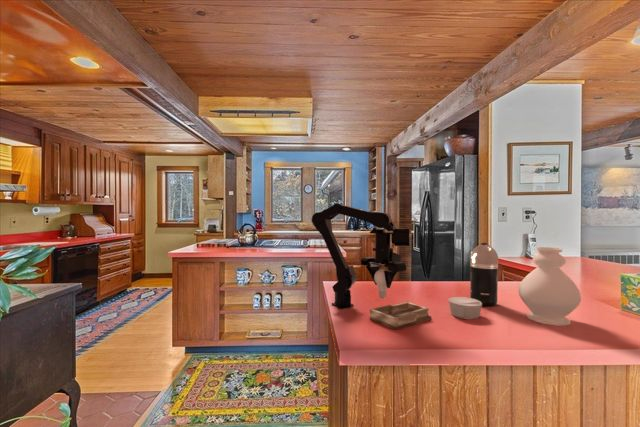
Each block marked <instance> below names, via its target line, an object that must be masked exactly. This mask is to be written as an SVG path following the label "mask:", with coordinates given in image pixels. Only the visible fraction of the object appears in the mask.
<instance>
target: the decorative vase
mask: <svg viewBox="0 0 640 427" xmlns="http://www.w3.org/2000/svg"><path fill="white" fill-rule="evenodd" d="M535 251H537V252H538V253H537V252H536V254H534V255H533V257H532V261H533V263H534V264H535V265H536V266H537V267H536V268H534V269H533V270H532V271H530V272H529V273H527V275H525V277H524V278H523V279H522V280H521V282H520V284H519V286H518V295H519V297H520V299H521V300H522V302H523V303H524V305H525V306H526V307H527V309H528V310H530V311H529V312H528V313H527V314H526V318H527V319H529V320H531V321H533V322H537V323H540V324H542V325H543V324H544V325H548V326H557V327H565V326H570V325H571V322H572V321H571V320H570V319H569V318H567V317H568V316H569V315H570V314H571V313H572V312H573V311H575V309H577V308H578V307H579V306H580V303H581V302H582V296H581V291H580V289H579V288H578V286H577V285H576V284H575V282H574V280H572V279H571V278H570V276H568V274H566V273H565V272H564V271H563V270H562V269H561V267H563V266H565V265H566V263H567V261H566V258H565V257H564V256H562V254H560V253H562V252H563V248H559V247H550V246H549V247H548V246H547V247H545V246H538V247H537V246H536V247H535Z"/></svg>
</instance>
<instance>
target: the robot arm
mask: <svg viewBox="0 0 640 427" xmlns="http://www.w3.org/2000/svg"><path fill="white" fill-rule="evenodd" d="M338 215H342V216H346V217H351V218H352V219H353V218H354V219H356V220H357V219H358V220H360V221H364V222H367V223H369V224H370V225H372V226H373V228H372V230H370V232H369V234H370V235H371V234H374V247H373V248H372V251H373V252H374V256H366V257H365V256H364V257H362V258H361V260H360V265H362V266H365V268H366V269H367V271H368V273H369V274H370V276H371V279H372V280H373V282H374V285H376V286H377V284H376V282H375V280H374V275H375V273H376V272H377V271H378V270H381V267H384V268H387V269H384V270H385V271H384V274H385V280H386V285H387V289H391V286H392V284H393V280H394V277H395V276H396V274H397V273H399V272H403V271H407V264H406V263H405V262H403V261H401V259H402V255H401V254H398V253H396V252H394V249H393V247H391V244H392V245H393V244H394V247H408V248H410V247H411V245H412V237H411V228H409V227H408V228H407V227H406V228H397V227H396V226H395V225H394V223H393V222H392V217H391V215H390V214H389V213H388V212H380V211H379V212H378V211H368V210H365V209H361V208H356V207H352V206H349V205H345V204H342V203H334V204H332V205H331V206H330V207H327V208H325V209H324V210H321V211H317V212H315V213H314V214H312V216H311V223H312V224H313V227H314V228H315V230H317V232H318V233H319V234H320V235H321V236H322V239H323V241H324V243H325V246H326V248H327V250H328V252H329V255H330V257H331V259H332V261H333V264H334V266H335V270H336V271H335V272H336V279H337V282H336V283H335V284H333V286H332V291H333V292H334V302H331V305H333V306H335V307H336V308H340V309H345V308H349V307H354V303H352V295H351V290H350V289H351V288H352V286H354V284H355V283H356V281H357V275H358V274H357V272H356V271H355V268H354V265H349V264H348V263H347V262H346V259H345V257H344V255H343V253H342V251H341V248H340V246H339V243H338V241H337V238H336V236H335V234H334V233H333V226H332V225H333V224H332V220H333V219H334V218H336V217H338Z"/></svg>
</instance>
